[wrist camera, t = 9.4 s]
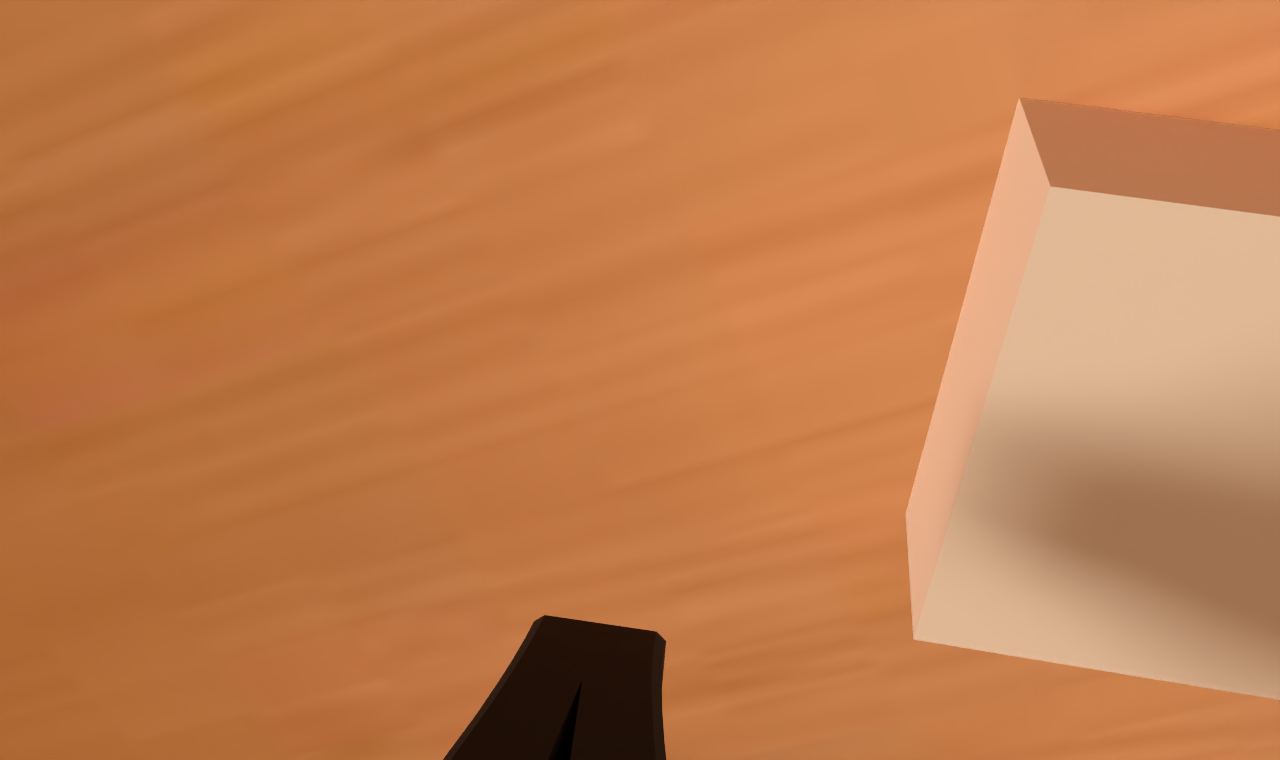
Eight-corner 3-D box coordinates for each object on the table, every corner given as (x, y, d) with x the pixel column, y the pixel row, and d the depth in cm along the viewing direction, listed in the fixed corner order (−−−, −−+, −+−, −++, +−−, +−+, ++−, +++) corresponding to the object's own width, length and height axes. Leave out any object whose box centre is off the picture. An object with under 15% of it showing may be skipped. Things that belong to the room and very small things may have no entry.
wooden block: (1347, 571, 21) (1427, 724, 18) (905, 502, 21) (913, 639, 19) (1586, 160, 16) (1742, 277, 13) (1016, 89, 17) (1050, 186, 14)
